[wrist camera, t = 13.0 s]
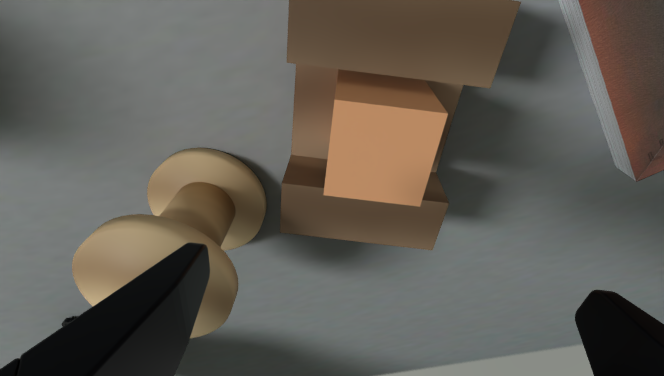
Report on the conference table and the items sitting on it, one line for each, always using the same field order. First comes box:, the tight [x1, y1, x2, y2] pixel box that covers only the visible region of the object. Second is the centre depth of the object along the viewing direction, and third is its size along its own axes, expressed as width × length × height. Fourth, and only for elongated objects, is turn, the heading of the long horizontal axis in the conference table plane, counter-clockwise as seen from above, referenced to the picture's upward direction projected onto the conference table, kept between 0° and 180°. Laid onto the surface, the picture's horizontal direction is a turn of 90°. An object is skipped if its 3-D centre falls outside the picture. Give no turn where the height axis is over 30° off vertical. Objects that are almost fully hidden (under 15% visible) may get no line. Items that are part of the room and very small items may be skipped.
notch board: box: [280, 0, 521, 250], centre depth 17 cm, size 12×8×4 cm
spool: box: [72, 148, 267, 338], centre depth 19 cm, size 7×7×8 cm
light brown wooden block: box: [323, 69, 448, 207], centre depth 15 cm, size 4×4×5 cm
